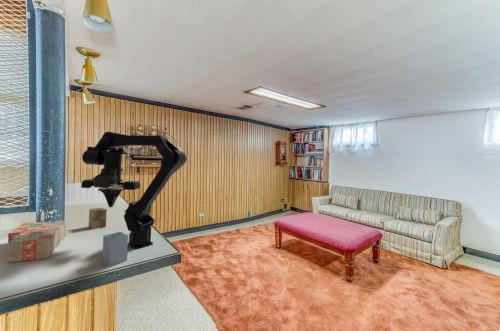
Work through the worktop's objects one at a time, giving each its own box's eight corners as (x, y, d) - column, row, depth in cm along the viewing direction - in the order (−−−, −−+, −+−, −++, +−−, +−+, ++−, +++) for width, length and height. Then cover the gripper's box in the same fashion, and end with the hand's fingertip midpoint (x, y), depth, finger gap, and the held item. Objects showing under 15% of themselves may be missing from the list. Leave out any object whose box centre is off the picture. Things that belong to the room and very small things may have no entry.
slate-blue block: (119, 256, 73) (120, 231, 73) (126, 260, 71) (128, 235, 70) (102, 261, 69) (103, 235, 69) (109, 266, 66) (110, 239, 66)
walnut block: (101, 224, 105) (101, 207, 105) (105, 226, 102) (106, 209, 102) (88, 226, 101) (89, 209, 101) (93, 229, 98) (93, 211, 98)
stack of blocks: (50, 238, 69) (-8, 243, 63) (49, 258, 69) (-8, 265, 63) (66, 220, 88) (23, 223, 82) (65, 236, 88) (22, 240, 82)
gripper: (71, 165, 76) (69, 211, 76) (128, 167, 77) (126, 213, 78) (91, 164, 87) (90, 204, 87) (141, 167, 89) (139, 206, 89)
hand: (110, 207), depth 85 cm, fingers closed
